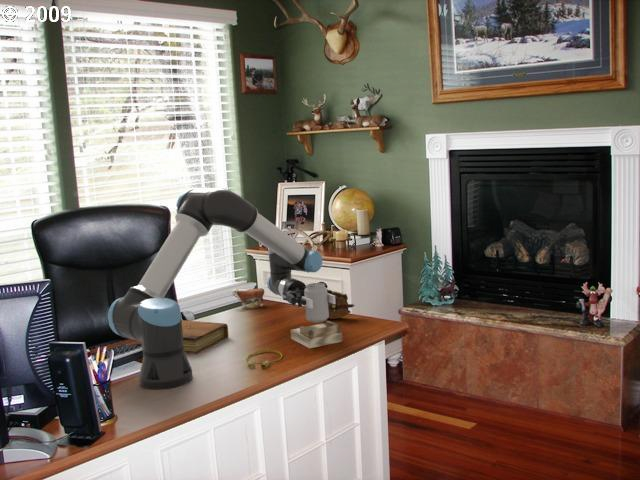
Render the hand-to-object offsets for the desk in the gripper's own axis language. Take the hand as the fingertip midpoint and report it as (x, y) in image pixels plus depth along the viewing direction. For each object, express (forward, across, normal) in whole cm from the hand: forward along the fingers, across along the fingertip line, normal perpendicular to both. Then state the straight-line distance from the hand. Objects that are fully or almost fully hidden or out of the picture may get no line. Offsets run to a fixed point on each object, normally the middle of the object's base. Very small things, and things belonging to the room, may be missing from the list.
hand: (323, 302), depth 236 cm
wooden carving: (-26, -17, -15) cm, 35 cm away
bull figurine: (-64, +1, -14) cm, 66 cm away
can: (-5, 0, -7) cm, 9 cm away
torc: (+2, +23, -15) cm, 28 cm away
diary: (-32, +37, -15) cm, 52 cm away
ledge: (-6, 0, -14) cm, 16 cm away
